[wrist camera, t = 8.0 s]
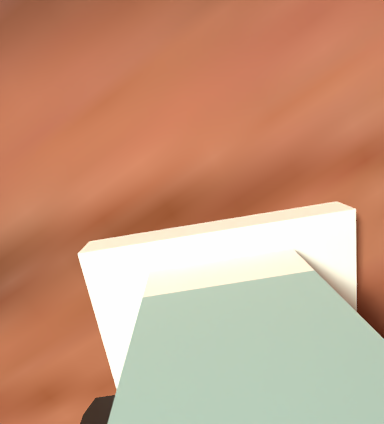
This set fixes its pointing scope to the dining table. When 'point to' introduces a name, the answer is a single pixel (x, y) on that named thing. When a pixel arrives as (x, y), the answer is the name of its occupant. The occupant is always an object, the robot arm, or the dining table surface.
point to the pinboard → (212, 251)
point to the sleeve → (249, 348)
